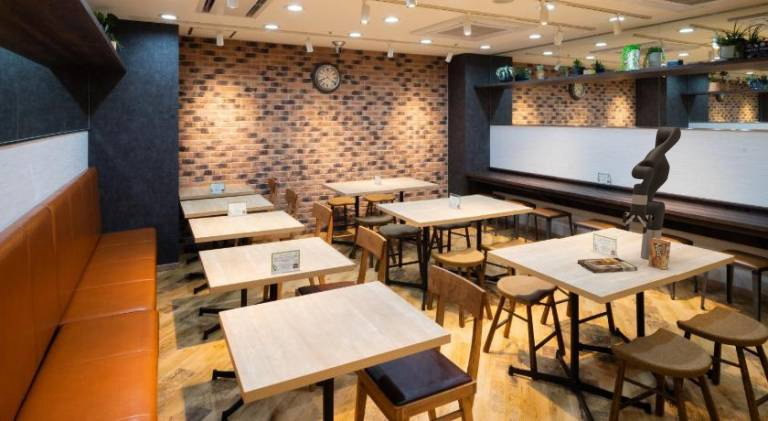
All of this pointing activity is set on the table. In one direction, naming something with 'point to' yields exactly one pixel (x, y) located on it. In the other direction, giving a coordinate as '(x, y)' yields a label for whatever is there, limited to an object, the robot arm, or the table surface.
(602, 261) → the ochre block
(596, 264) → the compartment board
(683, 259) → the table surface
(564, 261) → the table surface
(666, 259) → the candy box
